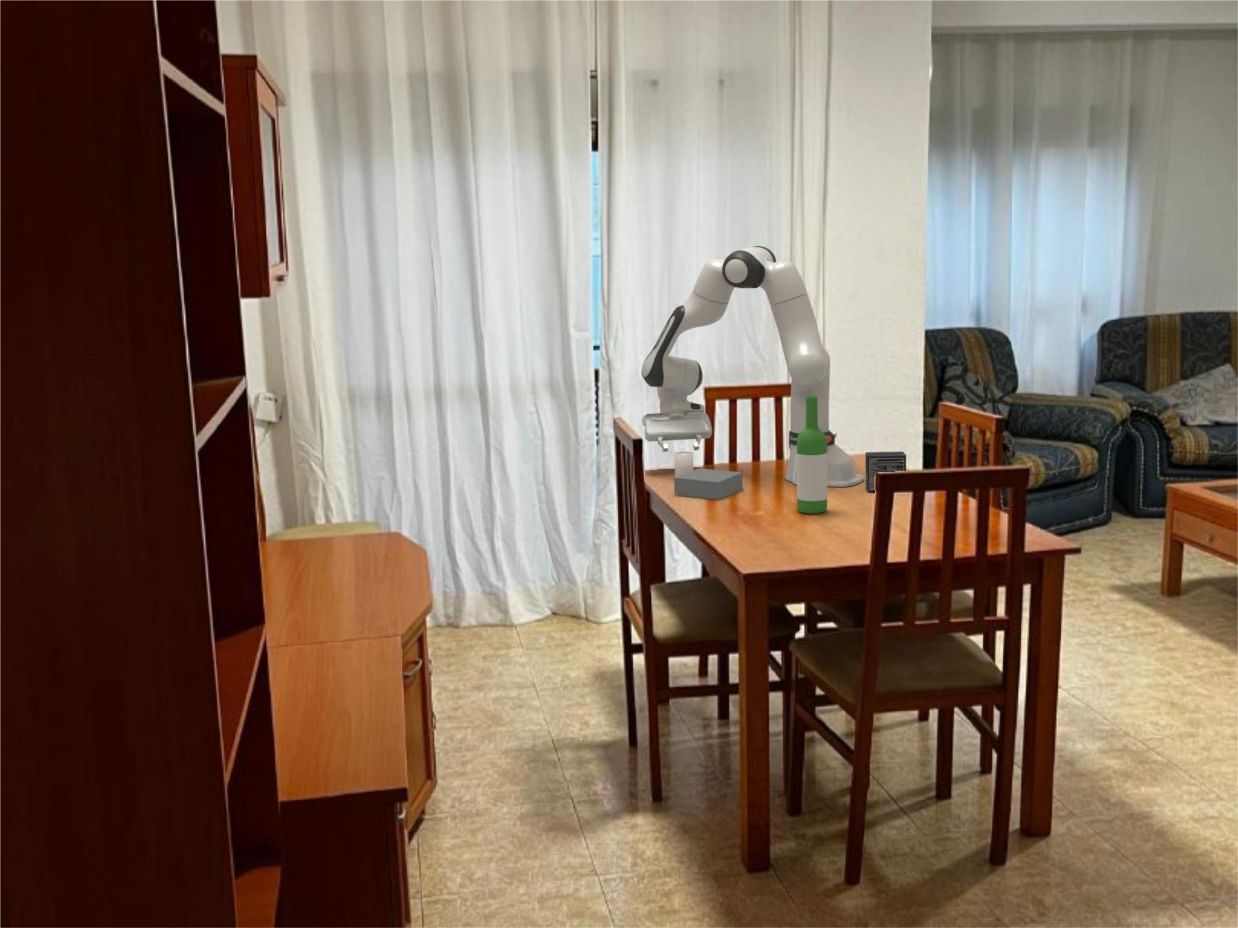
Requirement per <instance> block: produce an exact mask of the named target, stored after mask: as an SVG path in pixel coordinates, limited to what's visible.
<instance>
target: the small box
mask: <svg viewBox="0 0 1238 928" xmlns="http://www.w3.org/2000/svg"><path fill="white" fill-rule="evenodd" d="M895 471H906V472H907V454H906V453H905V452H904V451H902V450H901V451H868V452H865V490H866V492H867V493H868V494H872V493H873V494H874V493H875V490H874V476H875V473H877V472H895ZM875 494H876V493H875Z"/></svg>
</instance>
